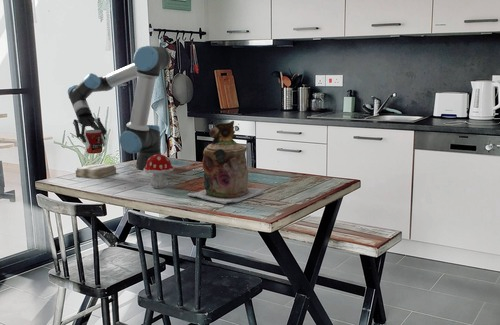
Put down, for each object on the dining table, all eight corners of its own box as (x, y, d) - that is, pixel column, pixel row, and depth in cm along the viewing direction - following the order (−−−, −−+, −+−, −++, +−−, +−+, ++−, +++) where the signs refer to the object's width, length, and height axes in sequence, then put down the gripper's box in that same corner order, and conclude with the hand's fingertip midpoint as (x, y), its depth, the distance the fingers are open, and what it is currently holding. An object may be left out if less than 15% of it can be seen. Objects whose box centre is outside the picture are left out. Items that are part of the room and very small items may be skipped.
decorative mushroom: (157, 182, 252) (155, 150, 249) (181, 185, 246) (179, 153, 243) (137, 188, 240) (135, 155, 237) (162, 191, 234) (160, 158, 231)
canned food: (93, 154, 264) (91, 132, 261) (83, 152, 268) (81, 130, 266) (105, 152, 270) (104, 130, 267) (95, 150, 274) (94, 129, 272)
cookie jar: (224, 186, 244) (222, 116, 237) (267, 194, 228) (266, 119, 222) (185, 197, 225) (182, 121, 219) (228, 206, 209) (227, 125, 203)
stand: (116, 172, 275) (115, 165, 274) (98, 178, 262) (98, 170, 261) (94, 170, 280) (93, 163, 279) (76, 176, 267) (75, 168, 267)
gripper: (100, 114, 284) (114, 148, 274) (61, 117, 271) (74, 153, 262) (103, 105, 278) (118, 139, 269) (64, 107, 266) (78, 143, 257)
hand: (96, 146), depth 265 cm, fingers closed on canned food, 8 cm apart
